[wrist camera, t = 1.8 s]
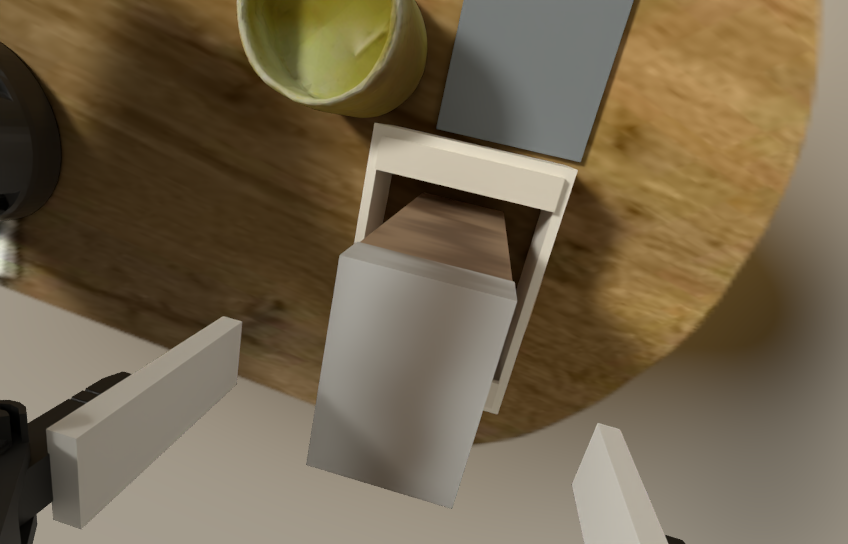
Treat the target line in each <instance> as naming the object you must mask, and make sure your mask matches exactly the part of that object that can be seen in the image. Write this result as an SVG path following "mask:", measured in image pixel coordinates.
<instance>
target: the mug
mask: <svg viewBox="0 0 848 544" xmlns="http://www.w3.org/2000/svg"><path fill="white" fill-rule="evenodd" d="M237 19H238V25H239V35H240V38H241V42H242V46H243V48H244V50H245V54H246V57H247V59H248V61H249V62H250V64H251V66H252V67H253V69H254V71H255V72H256V73H257V75H258V76H259V77H260V78H261V79H262V80H263V81H264V82H265V83H266V84H267V85H269V86H270V87H271V88H273V89H274V90H275V91H277V92H279V93H280V94H282V95H284V96H285V97H287V98H289V99H291V100H293V101H295V102H298V103H300V104H302V105H304V106H307V107H310V108H312V109H315V110H319V111H323V112H327V113H335V114H339V115H346V116H352V117H358V118H370V117H377V116H380V115H383V114H386V113H388V112H390V111H392V110H394V109H395V108H397V107H398V106H399V105H401V104H402V103H403V102H404V101H405V100H406V99H407V98H408V97H409V96H411V94H412V93H413V92H414V91H415V89H416V87H417V85H418V84H419V82H420V80H421V78H422V75H423V72H424V69H425V63H426V57H427V34H426V28H425V24H424V20H423V17H422V14H421V12H420V10H419V8H418V6H417V4H416V2H415V0H237Z"/></svg>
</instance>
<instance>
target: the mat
mask: <svg viewBox="0 0 848 544" xmlns="http://www.w3.org/2000/svg"><path fill="white" fill-rule="evenodd" d="M633 1H634V0H464V2H463V6H462V11H461V16H460V20H459V25H458V30H457V34H456V39H455V43H454V48H453V53H452V57H451V62H450V67H449V71H448V76H447V81H446V85H445V90H444V95H443V99H442V104H441V108H440V113H439V118H438V122H437V127H436V129H439V130H443V131H448V132H452V133H456V134H460V135H465V136H469V137H473V138H478V139H482V140H486V141H491V142H495V143H499V144H504V145H508V146H512V147H517V148H521V149H525V150H530V151H534V152H538V153H543V154H547V155H551V156H556V157H560V158H564V159H569V160H573V161H577V162H581V159H582V156H583V153H584V150H585V147H586V144H587V141H588V138H589V135H590V132H591V129H592V126H593V123H594V120H595V117H596V114H597V111H598V108H599V105H600V101H601V98H602V95H603V92H604V89H605V86H606V83H607V80H608V77H609V74H610V71H611V68H612V65H613V62H614V59H615V56H616V53H617V50H618V47H619V44H620V40H621V37H622V34H623V31H624V28H625V25H626V22H627V19H628V16H629V13H630V10H631V7H632V4H633Z"/></svg>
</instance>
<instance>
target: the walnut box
mask: <svg viewBox="0 0 848 544" xmlns="http://www.w3.org/2000/svg"><path fill="white" fill-rule="evenodd" d="M516 304H517V296H516V289H515V282H513V280H512V273H511V265H510V257H509V250H508V242H507V234H506V226H505V219H504V212H502V211H498V210H494V209H490V208H485V207H481V206H477V205H473V204H469V203H465V202H461V201H457V200H453V199H449V198H444V197H440V196H436V195H432V194H428V193H424V192H423V193H422V194H420V195H419V196H418V197H417V198H415V199H414V200H413V201H412V202H410V203H409V204H408V205H406V206H405V207H404V208H403V209H401V210H400V211H399V212H397V213H396V214H395V215H394V216H392V217H391V218H390V219H389V220H387V221H386V222H385V223H383V224H382V225H381V226H380V227H378V228H377V229H376V230H374V231H373V232H372V233H371V234H369V235H368V236H367V237H366V238H364V239H363V240H362V241H360V242H356V243H355V244H353V245H352V246H351V247H350V248H348V249H347V250H346V251H344V252H343V253H342V254H340V256H339V263H338V269H337V275H336V281H335V288H334V294H333V300H332V306H331V313H330V319H329V325H328V331H327V338H326V344H325V350H324V356H323V363H322V369H321V375H320V381H319V388H318V394H317V400H316V406H315V414H314V419H313V425H312V431H311V438H310V444H309V450H308V457H307V463H306V465H309V466H311V467H315V468H318V469H321V470H325V471H328V472H332V473H335V474H338V475H341V476H345V477H348V478H352V479H355V480H358V481H361V482H364V483H368V484H371V485H374V486H378V487H381V488H384V489H388V490H391V491H394V492H398V493H401V494H404V495H408V496H411V497H415V498H418V499H421V500H424V501H428V502H431V503H434V504H437V505H441V506H444V507H448V508H451V509H452V508H453V504H454V501H455V498H456V495H457V492H458V489H459V485H460V482H461V479H462V476H463V472H464V469H465V466H466V463H467V460H468V457H469V453H470V450H471V447H472V444H473V441H474V438H475V434H476V431H477V428H478V425H479V422H480V418H481V415H482V412H483V409H484V406H485V402H486V399H487V396H488V393H489V390H490V387H491V383H492V380H493V377H494V374H495V371H496V367H497V364H498V361H499V358H500V355H501V351H502V348H503V345H504V342H505V339H506V335H507V332H508V329H509V326H510V323H511V320H512V316H513V313H514V310H515V307H516Z"/></svg>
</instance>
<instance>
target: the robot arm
mask: <svg viewBox="0 0 848 544" xmlns="http://www.w3.org/2000/svg"><path fill="white" fill-rule="evenodd" d="M60 164H61V147H60V138H59V133H58V128H57V124H56V121H55V118H54V115H53V112H52V109H51V107H50V104H49V102H48V100H47V98H46V96H45V94H44V92H43V90H42V89H41V87H40V85H39V84H38V82H37V81H36V79H35V78H34V76H33V75H32V73H31V72H30V71H29V69H28V68H27V67H26V66H25V65H24V64H23V62H22V61H21V60H20V59H19V58H18V57H17V56H16V55H15V54H14V53H13V52H12V51H10V50H9V49H8V48H7V47H6V46H4V45H3V44H2V43H0V222H1V221H7V220H13V219H18V218H22V217H25V216H28V215H30V214H32V213H34V212H35V211H37V210H38V209H39V208H40V207H42V206H43V205H44V204H45V203H46V201H47V200H48V199H49V197H50V196H51V194H52V192H53V190H54V188H55V186H56V183H57V180H58V176H59V171H60ZM241 330H242V321H239V320H235V319H232V318H228V317H225V316H223V317H221V318H219V319H218V320H216V321H215V322H213V323H212V324H210V325H208V326H207V327H205V328H204V329H202V330H201V331H199V332H197V333H196V334H194V335H193V336H191V337H190V338H188V339H186V340H185V341H183V342H182V343H180V344H179V345H177V346H175V347H174V348H172V349H171V350H169V351H168V352H166V353H165V354H163V355H161V356H160V357H158V358H157V359H155V360H154V361H152V362H150V363H149V364H147V365H146V366H144V367H143V368H141V369H139V370H138V371H136V372H135V373H133V374H130V373H126V372H120V373H117V374H115V375H111V376H108V377H105V378H103V379H101V380H99V381H98V382H96V383H94V384H93V385H91V386H89V387H88V388H86V390H85V391H81V392H79V393H78V394H76V395H75V396H73V397H72V398H71V399H68V400H66V401H64V402H63V403H61V404H59V405H58V406H56V407H54V408H53V409H51V410H49V411H48V412H46V413H44V414H43V415H41V416H40V417H38V418H36V419H34V420H33V421H31V422H30V423H27V413H26V407H25V406H24V405H23V404H21V403H20V402H16V401H11V400H0V544H33V540H34V535H35V531H36V527H37V516H36V514H37V513H38V512H40V511H41V510H42V509H43V508H45V507H46V506H47V505H48V504H50V503H51V502H52V510H53V520H56V521H59V522H62V523H64V524H67V525H70V526H73V527H76V528H79V529H82V528H83V527H84V526H85V525H86V524H87V523H88V522H89V521H90V520H92V519H93V518H94V517H95V516H96V515H97V514H98V513H99V512H100V511H101V510H102V509H103V508H104V507H105V506H106V505H107V504H109V503H110V502H111V501H112V500H113V499H114V498H115V497H116V496H117V495H118V494H119V493H120V492H122V491H123V490H124V489H125V488H126V487H127V486H128V485H129V484H130V483H131V482H132V481H133V480H134V479H136V478H137V477H138V476H139V475H140V474H141V473H142V472H143V471H144V470H145V469H146V468H147V467H148V466H149V465H151V464H152V463H153V462H154V461H155V460H156V459H157V458H158V457H159V456H160V455H161V454H162V453H163V452H165V451H166V450H167V449H168V448H169V447H170V446H171V445H172V444H173V443H174V442H175V441H176V440H177V439H178V438H180V437H181V436H182V435H183V434H184V433H185V432H186V431H187V430H188V429H189V428H190V427H191V426H192V425H193V424H195V423H196V422H197V421H198V420H199V419H200V418H201V417H202V416H203V415H204V414H205V413H206V412H207V411H209V410H210V409H211V408H212V407H213V406H214V405H215V404H216V403H217V402H218V401H219V400H220V399H221V398H223V397H224V396H225V395H226V394H227V393H228V392H229V391H230V390H231V389H232V388H233V387H234V386H235V385H236V384H237V375H238V364H239V353H240V342H241ZM572 488H573V493H574V498H575V503H576V507H577V512H578V517H579V521H580V526H581V530H582V535H583V540H584V544H685V543H684V542H683V540H680V539H677V538H673V537H670V536H667V535H665V534H664V532H663V530H662V527H661V525H660V523H659V520H658V518H657V515H656V513H655V511H654V508H653V506H652V504H651V501H650V499H649V497H648V494H647V492H646V489H645V487H644V485H643V482H642V480H641V478H640V475H639V473H638V470H637V468H636V466H635V463H634V461H633V459H632V456H631V454H630V451H629V449H628V447H627V444H626V442H625V440H624V437H623V435H622V433H621V430H620V429H618V428H615V427H611V426H608V425H604V424H601V423H597V426H596V428H595V431H594V433H593V435H592V437H591V440H590V442H589V444H588V447H587V449H586V452H585V454H584V456H583V459H582V461H581V464H580V466H579V468H578V471H577V473H576V475H575V478H574V480H573V483H572Z"/></svg>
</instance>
